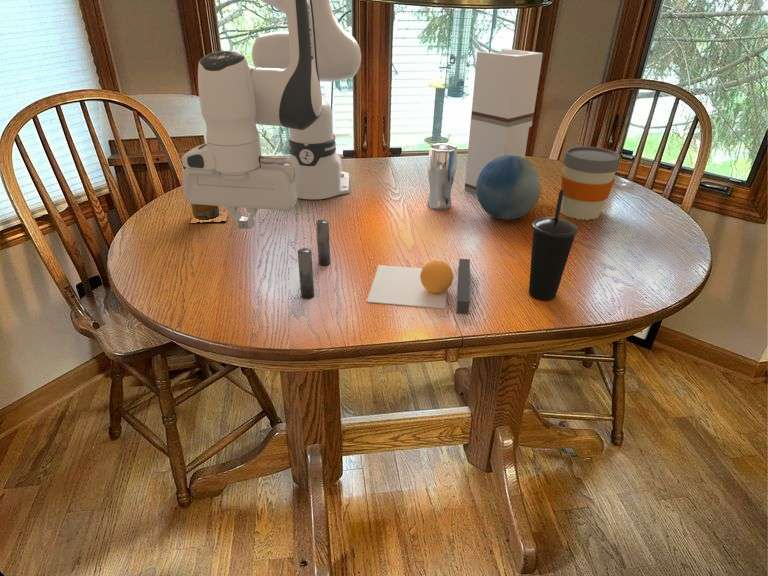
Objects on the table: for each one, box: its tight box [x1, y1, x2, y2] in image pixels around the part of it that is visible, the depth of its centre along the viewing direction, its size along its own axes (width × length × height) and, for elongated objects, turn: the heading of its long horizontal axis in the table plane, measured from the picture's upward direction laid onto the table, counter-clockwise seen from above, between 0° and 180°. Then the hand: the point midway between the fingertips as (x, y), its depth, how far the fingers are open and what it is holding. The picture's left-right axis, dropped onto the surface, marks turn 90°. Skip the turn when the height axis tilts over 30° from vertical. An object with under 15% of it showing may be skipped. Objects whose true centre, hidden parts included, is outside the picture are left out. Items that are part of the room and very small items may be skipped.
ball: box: [420, 259, 454, 293], centre depth 97 cm, size 6×6×6 cm
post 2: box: [315, 219, 331, 267], centre depth 105 cm, size 2×2×9 cm
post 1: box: [297, 247, 315, 300], centre depth 94 cm, size 2×2×9 cm
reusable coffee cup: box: [560, 146, 621, 221], centre depth 128 cm, size 13×13×15 cm
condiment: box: [190, 203, 220, 220], centre depth 124 cm, size 7×8×12 cm
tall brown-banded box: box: [463, 48, 544, 195], centre depth 136 cm, size 11×11×35 cm
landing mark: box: [366, 264, 448, 310], centre depth 99 cm, size 14×14×1 cm
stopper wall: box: [456, 258, 471, 315], centre depth 98 cm, size 16×2×2 cm, turn 172°
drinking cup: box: [528, 189, 579, 302], centre depth 92 cm, size 8×8×20 cm
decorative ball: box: [475, 155, 542, 220], centre depth 125 cm, size 15×15×15 cm
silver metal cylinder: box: [427, 143, 458, 211], centre depth 131 cm, size 7×7×15 cm
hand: (245, 227), depth 99 cm, fingers closed
